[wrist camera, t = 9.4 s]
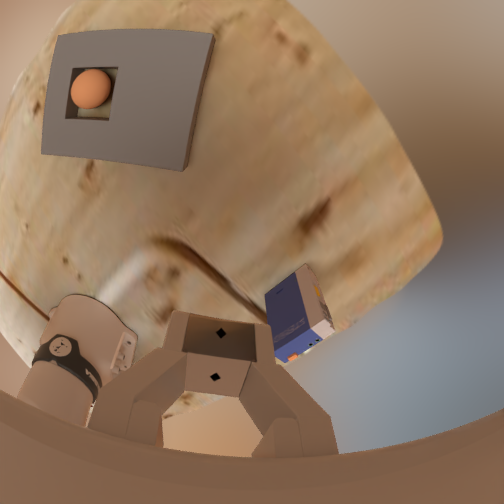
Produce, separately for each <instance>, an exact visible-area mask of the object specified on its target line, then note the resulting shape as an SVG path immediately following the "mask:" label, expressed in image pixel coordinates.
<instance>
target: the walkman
mask: <svg viewBox="0 0 504 504" xmlns="http://www.w3.org/2000/svg"><path fill="white" fill-rule="evenodd" d="M265 302H266V311H267V321H268V325H270V327H271V332H272V339H273V347H274V354H275V357H277V358H278V359H280V360H281V361H283V362H284V363H286V362H288V361H289V360H290V361H292V360H293V359H295V358H297V357H298V355H299V354H301V353H303V352H304V351H306V350H307V349H309V348H311V347H312V346H314V345H315V344H317V343H319V342H320V341H322V340H323V339H325V338H326V337H328V336H329V335H331V334H332V333H334V332H335V328H334V325H333V322H332V318H331V315H330V312H329V310H328V307H327V305H326V303H325V300H324V297H323V295H322V292H321V289H320V287H319V284H318V281H317V278H316V276H315V275H314V274H313V272H312V270H311V269H310V268H309V266H308V265H307V264H306V263H305V264H304V265H303V266H302V267H300V268H299V269H298V270H296V271H295V272H294V273H293V274H291V275H290V276H289V277H288V278H286V279H285V280H284V281H282V282H281V283H280V284H278V285H277V286H276V287H274V288H273V289H272V290H270V291H269V292H268V293H266V294H265Z"/></svg>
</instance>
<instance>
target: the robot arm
mask: <svg viewBox="0 0 504 504" xmlns="http://www.w3.org/2000/svg"><path fill="white" fill-rule="evenodd" d="M49 317H50V321H49V322H48V324H47V326H46V328H45V330H44V332H43V335H42V337H41V339H40V345H41V346H40V348H39V350H38V351H37V352H36V354H35V356H34V359H33V361H32V368H31V370H30V372H29V374H28V376H27V378H26V379H25V381H24V383H23V385H22V388H21V390H20V391H19V394H18V396H17V398H15V397H13V396H11V395H10V394H8V393H6V392H4V391H2V390H0V504H504V408H503V409H501V410H499V411H497V412H495V413H493V414H490V415H488V416H486V417H483V418H481V419H479V420H476V421H473V422H471V423H468V424H466V425H463V426H460V427H457V428H454V429H451V430H448V431H445V432H442V433H439V434H436V435H432V436H429V437H425V438H422V439H418V440H414V441H410V442H406V443H402V444H398V445H393V446H388V447H383V448H377V449H372V450H366V451H359V452H353V453H345V454H339V452H338V449H337V443H336V439H335V435H334V430H333V426H332V422H331V418H330V416H329V415H328V414H327V413H326V412H325V411H324V410H323V409H322V408H321V407H320V406H319V405H318V404H317V403H316V402H315V401H314V400H313V398H311V396H310V395H309V394H308V393H307V392H306V391H305V390H304V389H303V388H302V387H301V386H300V385H299V384H298V383H297V382H296V381H295V380H294V379H293V377H292V376H291V375H290V374H289V373H288V372H287V371H286V370H285V369H284V368H283V367H282V366H281V365H278V364H276V361H275V354H274V347H273V339H272V332H271V327H270V325H267V324H258V323H247V322H240V321H233V320H226V319H219V318H214V317H208V316H203V315H198V314H193V313H186V312H181V311H176V310H173V312H172V314H171V318H170V322H169V325H168V329H167V333H166V336H165V340H164V344H163V348H158V347H157V348H156V349H155V350H153V351H152V352H151V353H149V354H148V355H146V356H145V357H144V358H142V359H141V360H139V361H138V362H137V363H135V364H134V365H133V366H131V365H132V361H133V356H134V352H135V347H136V343H137V339H138V338H137V335H136V334H135V333H134V332H132V331H131V330H130V329H128V328H127V327H125V326H124V325H123V324H122V323H121V321H120V320H119V319H118V317H117V316H116V315H115V314H114V313H113V312H112V311H111V310H110V309H109V308H107V307H106V306H105V305H103V304H102V303H100V302H98V301H96V300H94V299H92V298H90V297H86V296H82V295H70V296H67V297H65V298H64V299H63V300H62V301H61V302H60V304H59V306H58V307H56V308H53V309H51V310H50V312H49ZM184 390H186V391H193V392H201V393H210V394H217V395H224V396H231V397H239V400H240V401H241V403H242V405H243V406H244V408H245V409H246V411H247V413H248V414H249V416H250V417H251V418H252V420H253V422H254V423H255V425H256V426H257V428H258V429H259V431H260V432H261V434H262V435H263V438H262V439H261V441H260V442H259V444H258V446H257V447H256V448H255V450H254V451H253V453H252V457H233V456H220V455H209V454H201V453H193V452H186V451H180V450H173V449H168V448H163V432H162V415H163V413H164V412H165V411H166V410H167V409H168V408H169V407H170V406H171V405H172V404H173V403H174V402H175V401H176V400H177V399H178V398H179V397H180V396H181V395H182V393H183V392H184ZM96 399H97V400H96ZM95 400H96V402H95ZM94 402H95V405H94V408H93V411H92V414H91V417H90V421H89V423H88V427H87V428H86V427H85V425H86V421H87V417H88V414H89V410H90V407H93V406H91V404H92V403H93V404H94Z"/></svg>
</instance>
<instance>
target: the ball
mask: <svg viewBox="0 0 504 504" xmlns="http://www.w3.org/2000/svg"><path fill="white" fill-rule="evenodd" d="M110 90H111V81H110V79H109V77H108V75H107V74H106V73H105V72H103V71H101V70H98V69H90V70H87V71H84V72H83V73H81V74H80V75H79V76H78V77H77V78H76V79H75V81H74V82H73V84H72V88H71V97H72V100H73V102H74V103H75V104H76V105H77V106H78V107H80V108H83V109H92V108H95V107H97V106H99V105H101V104H102V103H103V102H104V101H105V100H106V99H107V97H108V96H109V93H110Z"/></svg>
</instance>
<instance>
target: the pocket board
mask: <svg viewBox="0 0 504 504" xmlns="http://www.w3.org/2000/svg"><path fill="white" fill-rule="evenodd" d="M214 43H215V38H214V35H213V34H210V33H202V32H192V31H181V30H165V29H114V30H98V31H87V32H78V33H70V34H64V35H58V38H57V42H56V46H55V50H54V54H53V59H52V64H51V69H50V74H49V80H48V86H47V92H46V100H45V108H44V117H43V129H42V146H41V154H45V155H57V156H69V157H79V158H88V159H97V160H106V161H114V162H121V163H129V164H136V165H143V166H149V167H156V168H162V169H168V170H174V171H180V172H183V170H184V169H185V168H186V167H187V164H188V159H189V153H190V148H191V143H192V137H193V132H194V127H195V122H196V118H197V113H198V108H199V104H200V99H201V95H202V91H203V86H204V82H205V78H206V74H207V70H208V66H209V62H210V58H211V54H212V51H213V47H214ZM85 69H118V72H117V76H116V81H115V86H114V92H113V98H112V104H111V110H110V117H109V118H97V117H77V112H78V106H77V105H76V104H75V103H74V102H73V100H72V97H71V88H72V84H73V82H74V81H75V79H76V78H77V77H78V76H79V75H80V74H81V73H83V72H84V70H85Z"/></svg>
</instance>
